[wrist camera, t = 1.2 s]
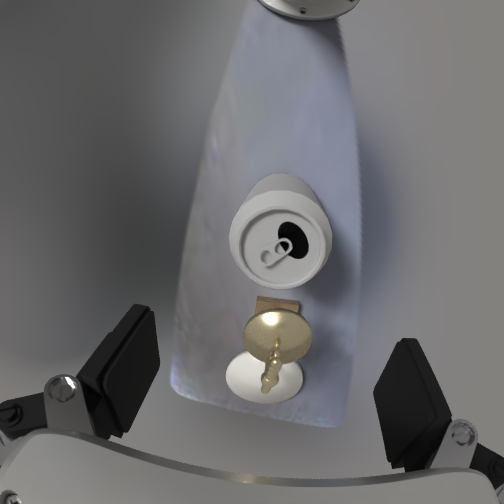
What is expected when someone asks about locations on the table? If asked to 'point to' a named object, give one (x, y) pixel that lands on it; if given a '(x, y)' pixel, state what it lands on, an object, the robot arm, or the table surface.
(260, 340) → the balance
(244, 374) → the white rounded disc
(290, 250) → the can
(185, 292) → the table surface
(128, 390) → the robot arm
